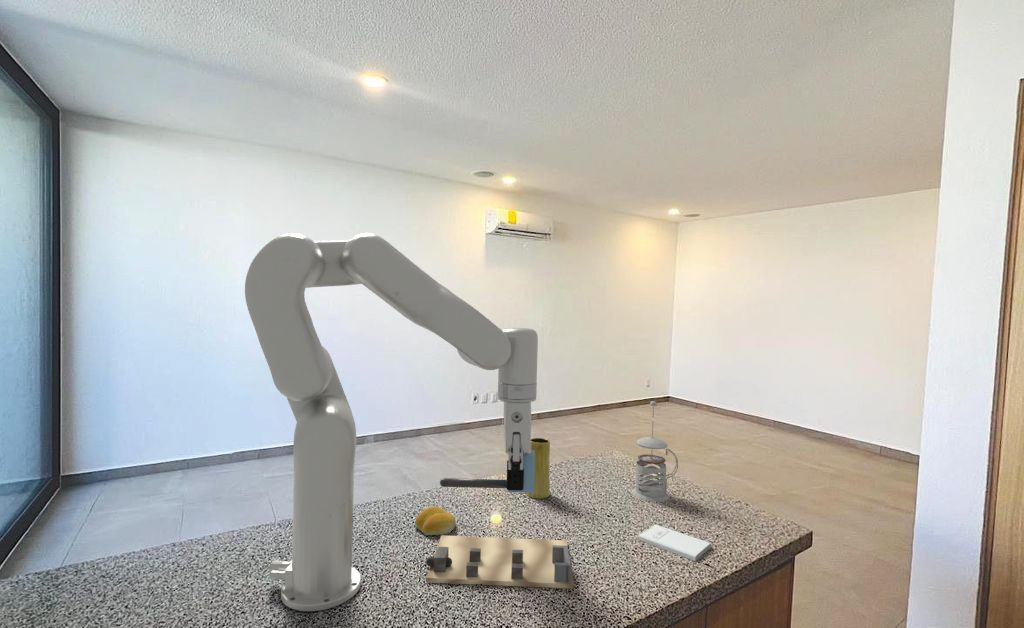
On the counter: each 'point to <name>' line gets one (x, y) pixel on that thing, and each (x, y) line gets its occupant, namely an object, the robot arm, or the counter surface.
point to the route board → (495, 562)
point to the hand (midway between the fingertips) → (514, 484)
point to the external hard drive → (675, 542)
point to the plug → (494, 483)
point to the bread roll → (435, 521)
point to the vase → (541, 468)
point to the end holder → (561, 563)
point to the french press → (652, 470)
